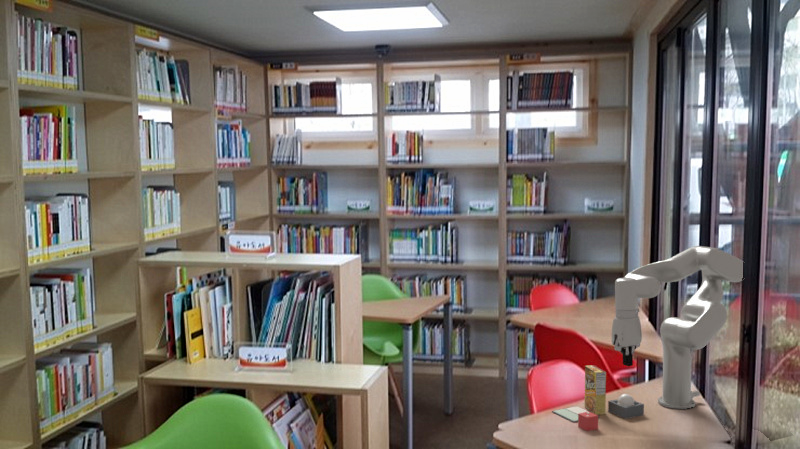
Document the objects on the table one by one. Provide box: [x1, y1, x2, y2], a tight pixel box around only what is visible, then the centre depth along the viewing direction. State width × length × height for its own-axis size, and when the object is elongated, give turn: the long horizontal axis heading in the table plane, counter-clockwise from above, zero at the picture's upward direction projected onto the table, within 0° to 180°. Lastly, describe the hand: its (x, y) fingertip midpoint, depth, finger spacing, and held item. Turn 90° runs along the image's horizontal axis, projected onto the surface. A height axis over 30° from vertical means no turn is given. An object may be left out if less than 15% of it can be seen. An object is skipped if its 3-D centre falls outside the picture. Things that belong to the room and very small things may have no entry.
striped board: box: [551, 405, 600, 423], centre depth 247 cm, size 11×12×1 cm
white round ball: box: [617, 393, 635, 407], centre depth 247 cm, size 6×6×6 cm
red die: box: [577, 411, 599, 432], centre depth 234 cm, size 4×4×5 cm
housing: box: [607, 398, 645, 420], centre depth 247 cm, size 8×8×4 cm
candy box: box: [584, 365, 607, 416], centre depth 250 cm, size 9×4×15 cm, turn 11°
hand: (627, 365), depth 246 cm, fingers closed
